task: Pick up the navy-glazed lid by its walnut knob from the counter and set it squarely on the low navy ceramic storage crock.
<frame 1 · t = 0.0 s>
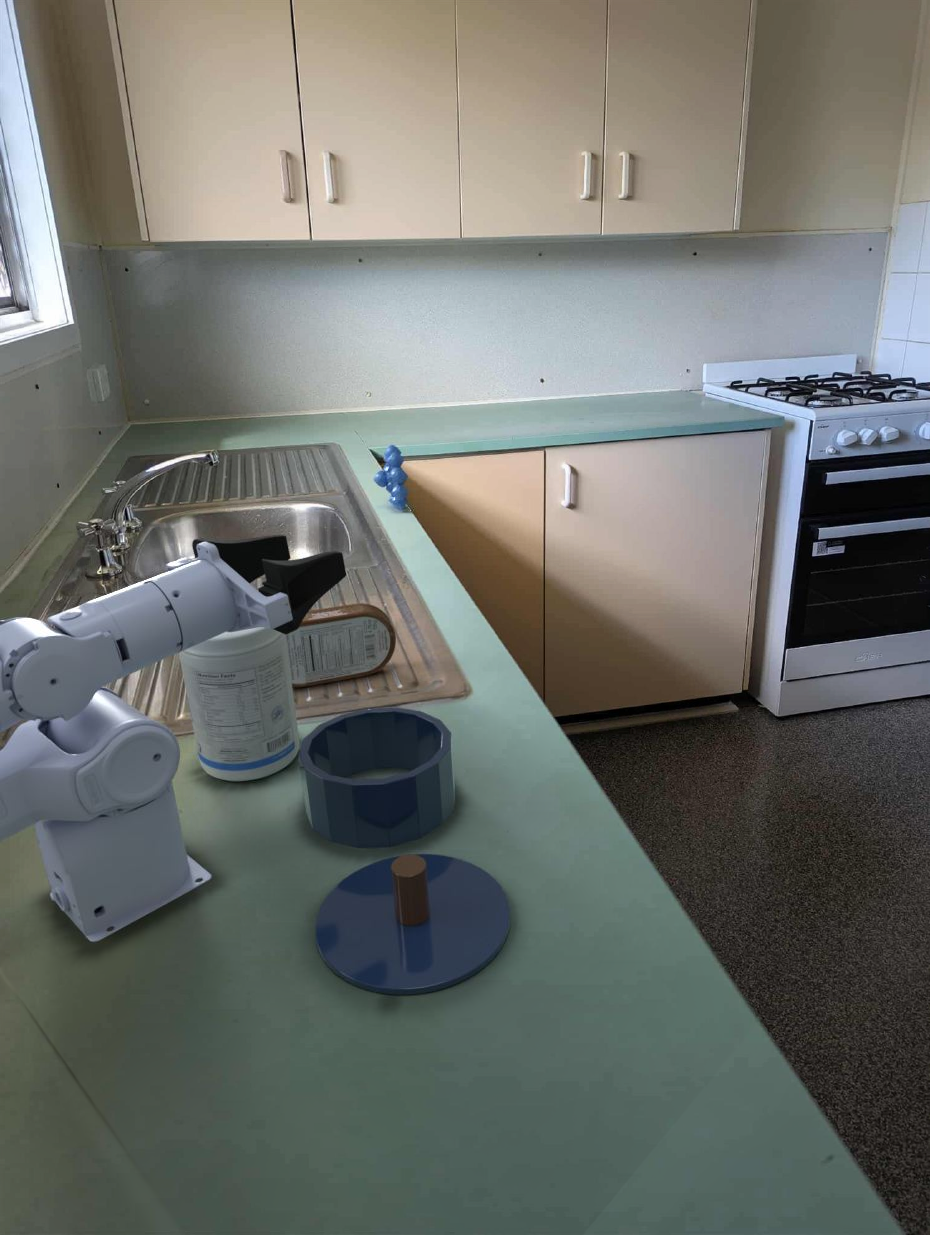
hand: (313, 554, 71), 22 cm above the worktop, tool horizontal, fingers open, 7 cm apart
grapes: (393, 509, 170), on the worktop
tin: (334, 680, 100), on the worktop
crock: (382, 807, 75), on the worktop
supplement tub: (251, 760, 84), on the worktop
lid: (413, 920, 61), point 1 cm above the worktop
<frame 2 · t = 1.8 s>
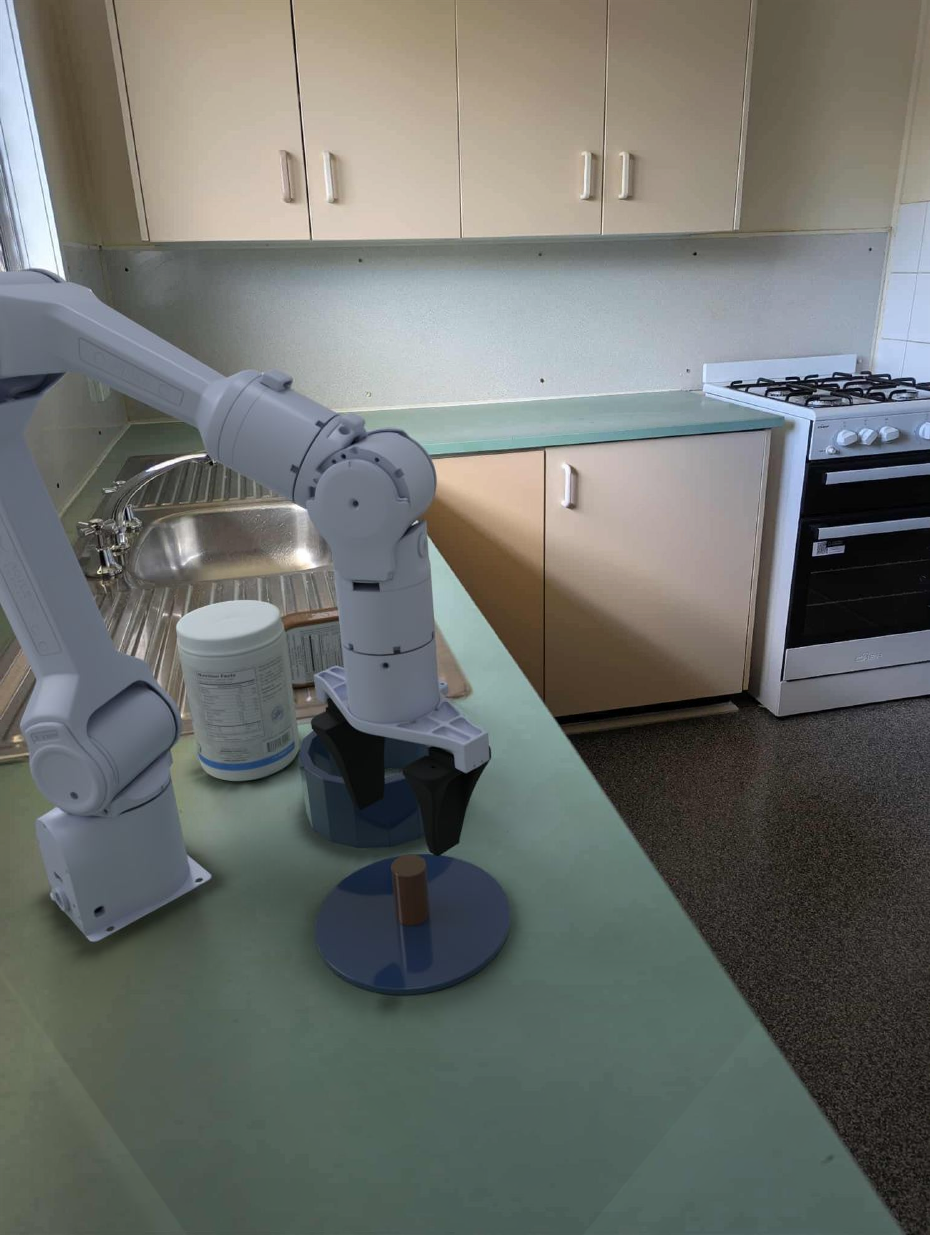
hand: (405, 824, 58), 9 cm above the worktop, tool pointing down, fingers open, 7 cm apart
nothing on the worktop moved.
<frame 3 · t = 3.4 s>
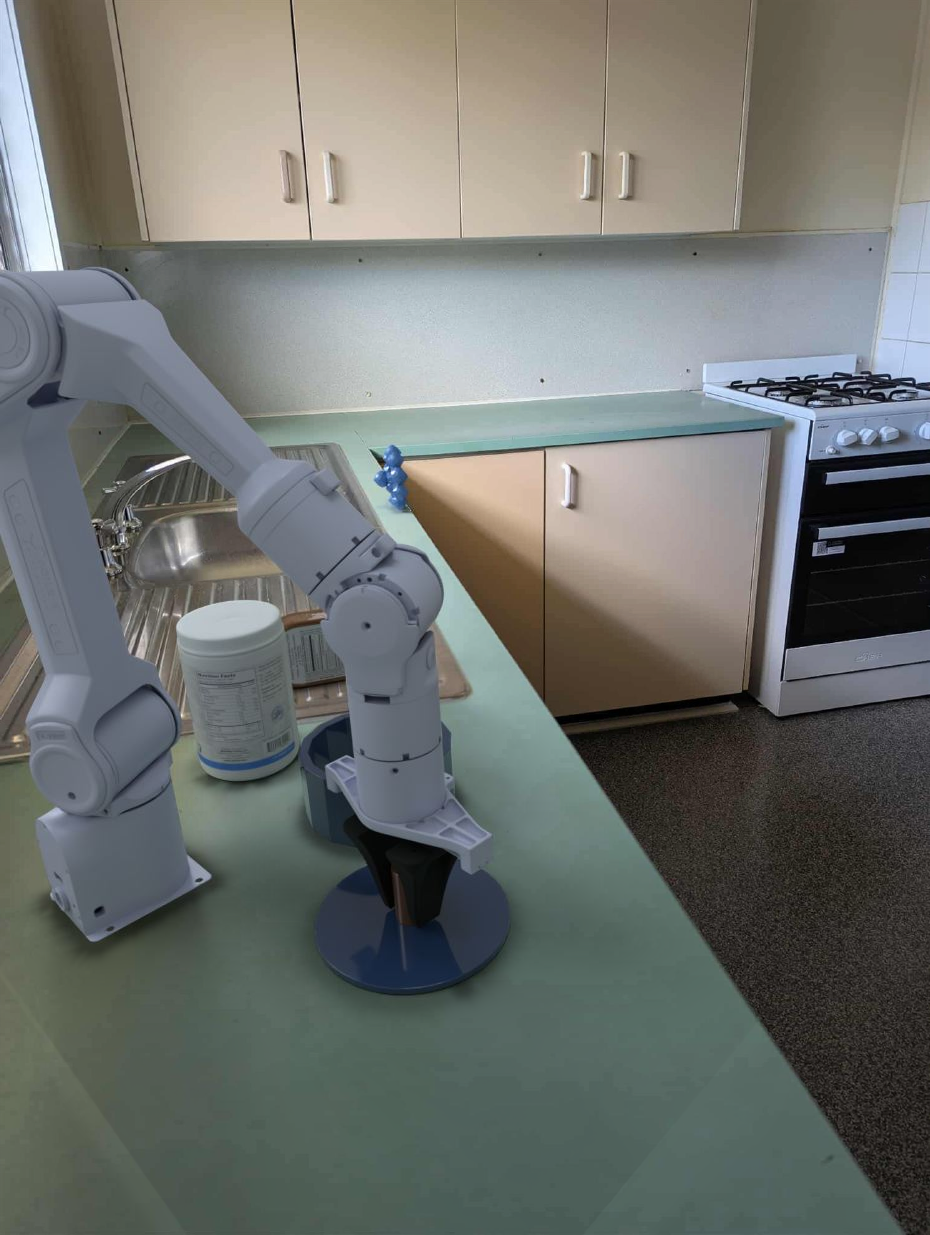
hand: (412, 909, 61), 2 cm above the worktop, tool pointing down, fingers closed on lid, 2 cm apart
lid: (413, 919, 61), point 1 cm above the worktop, touching gripper
everything else where it was.
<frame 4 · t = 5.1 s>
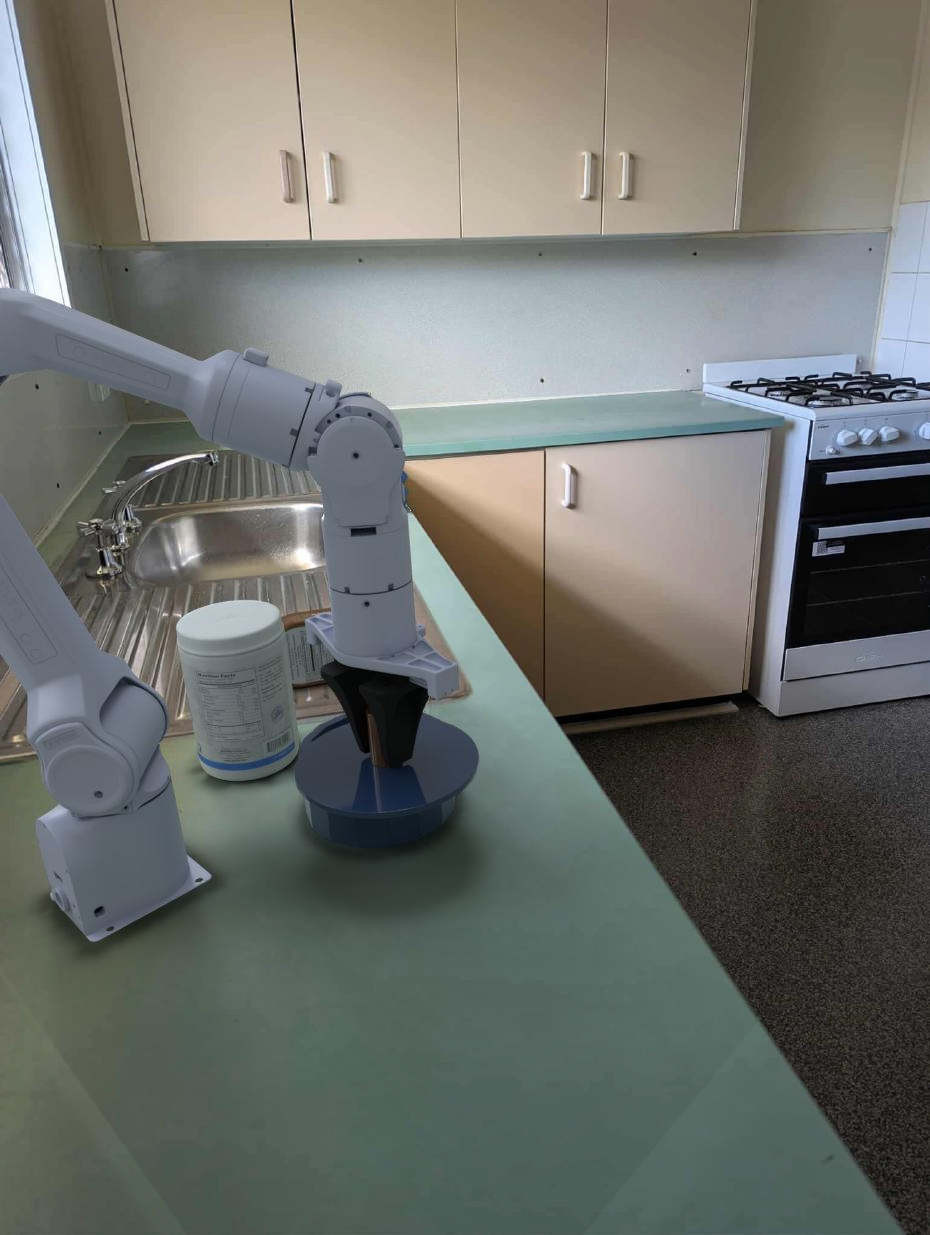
hand: (386, 754, 64), 10 cm above the worktop, tool pointing down, fingers closed on lid, 2 cm apart
lid: (387, 765, 65), point 9 cm above the worktop, touching gripper
everything else where it was.
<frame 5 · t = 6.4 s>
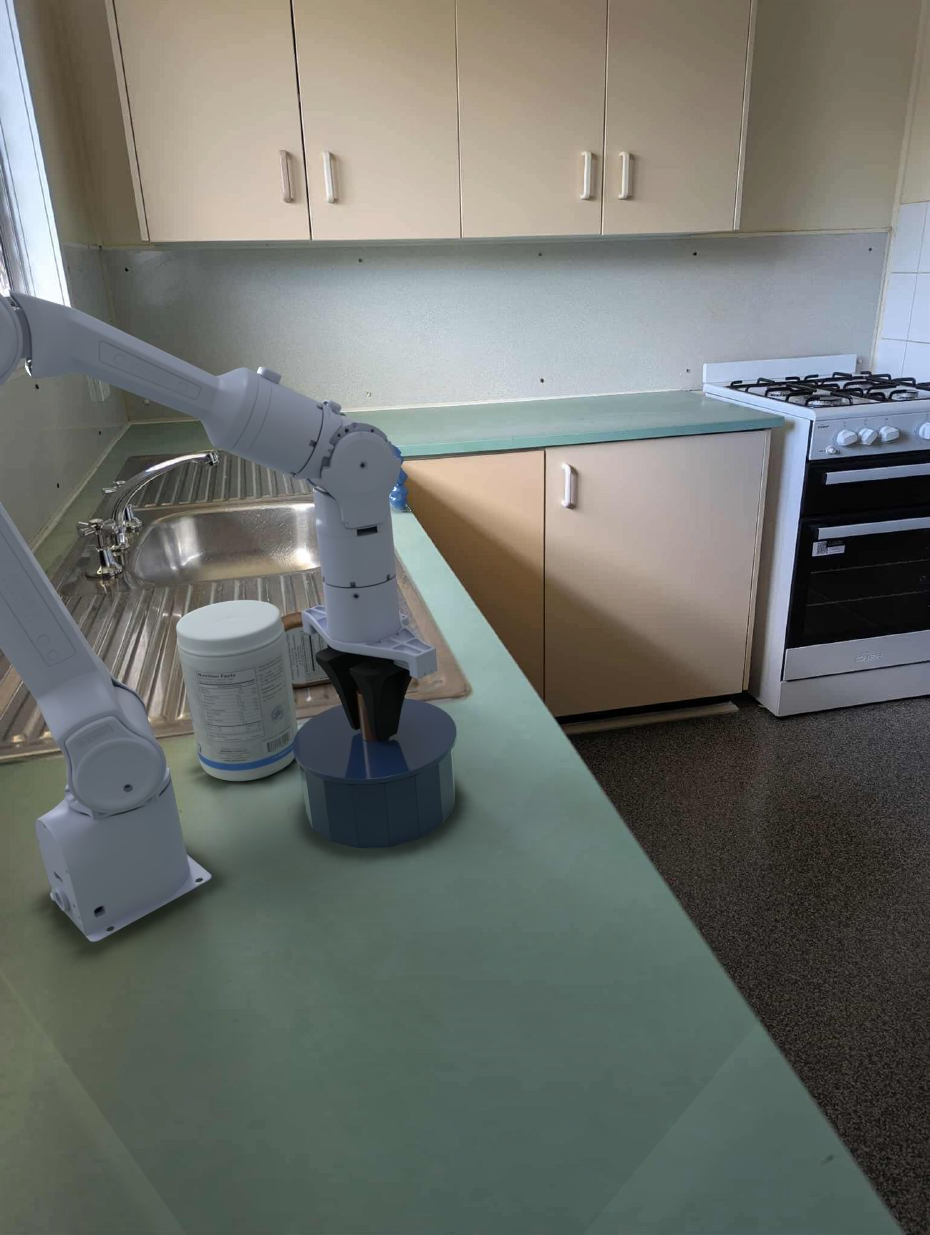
hand: (374, 730, 72), 8 cm above the worktop, tool pointing down, fingers closed on lid, 2 cm apart
lid: (375, 739, 73), point 7 cm above the worktop, touching gripper
everything else where it was.
when the fingers open (7 cm above the worktop, at t = 6.7 s): lid stays where it is, resting on crock.
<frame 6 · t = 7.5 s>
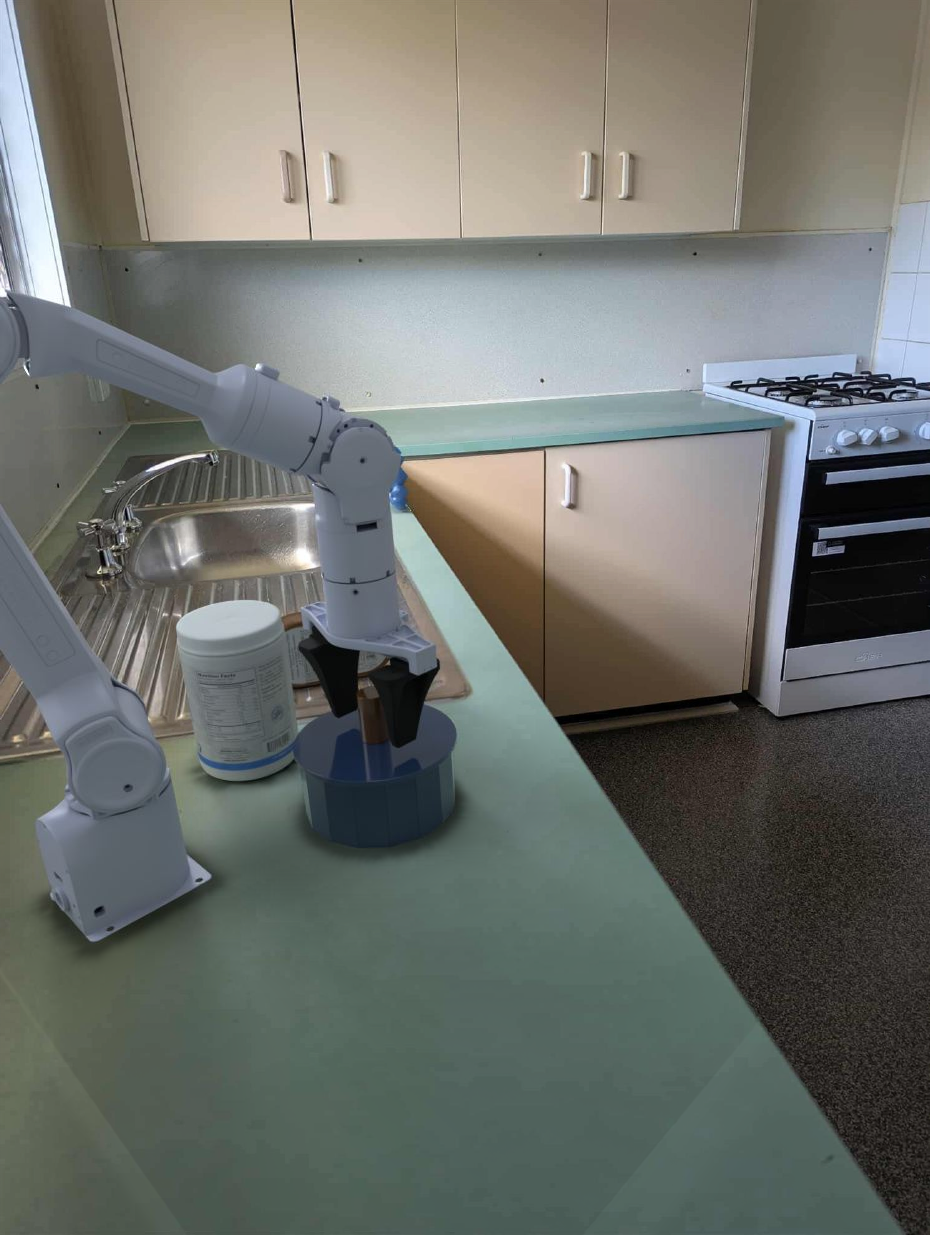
hand: (374, 727, 72), 8 cm above the worktop, tool pointing down, fingers open, 7 cm apart
lid: (375, 742, 73), point 6 cm above the worktop, touching crock
everything else where it was.
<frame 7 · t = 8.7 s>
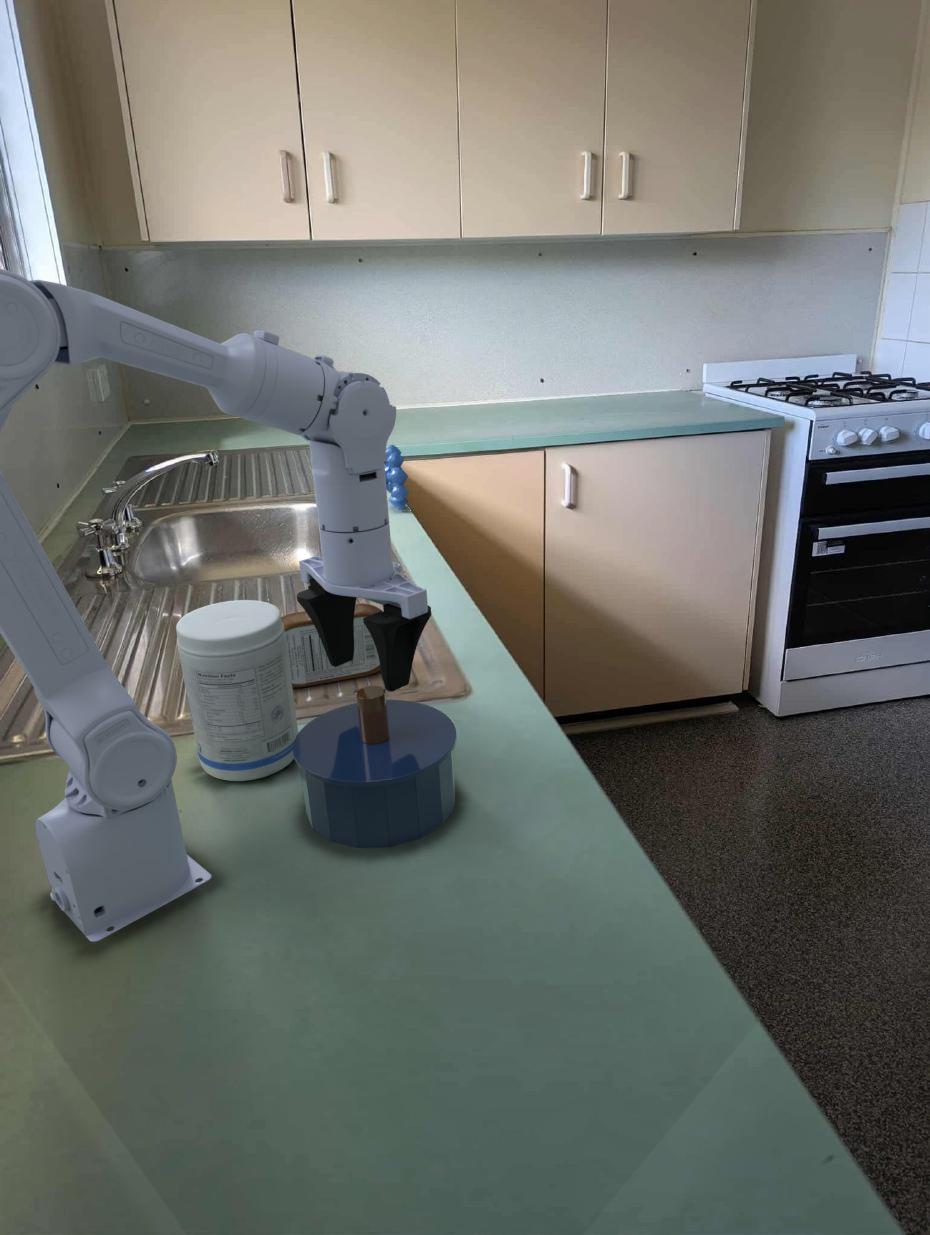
hand: (369, 674, 76), 10 cm above the worktop, tool pointing down, fingers open, 7 cm apart
nothing on the worktop moved.
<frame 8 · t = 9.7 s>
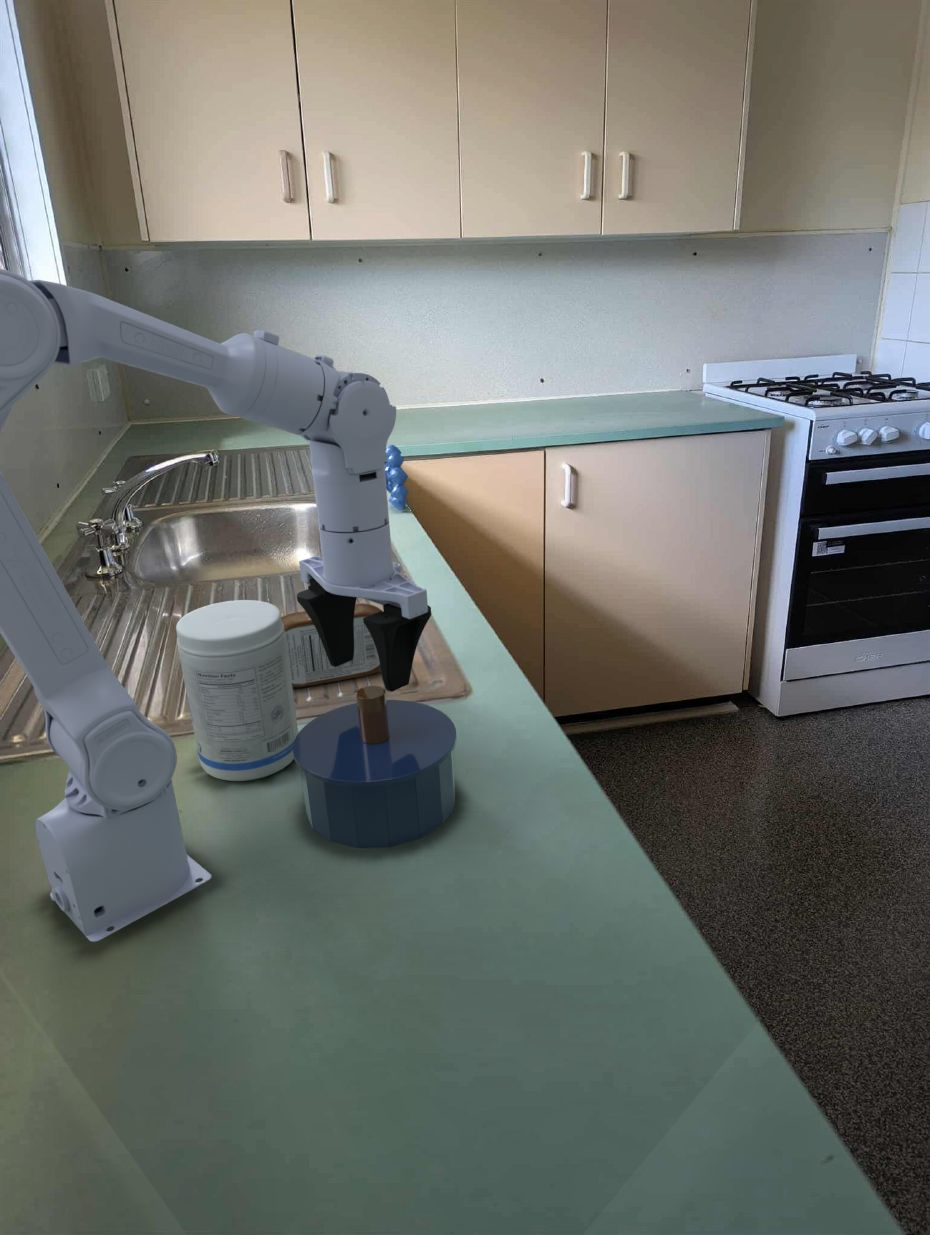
hand: (369, 674, 76), 10 cm above the worktop, tool pointing down, fingers open, 7 cm apart
nothing on the worktop moved.
at the end: lid 0.1 cm off-centre on the crock, point 6.4 cm above the crock's base; lid tilted 0°; the gripper is holding nothing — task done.
